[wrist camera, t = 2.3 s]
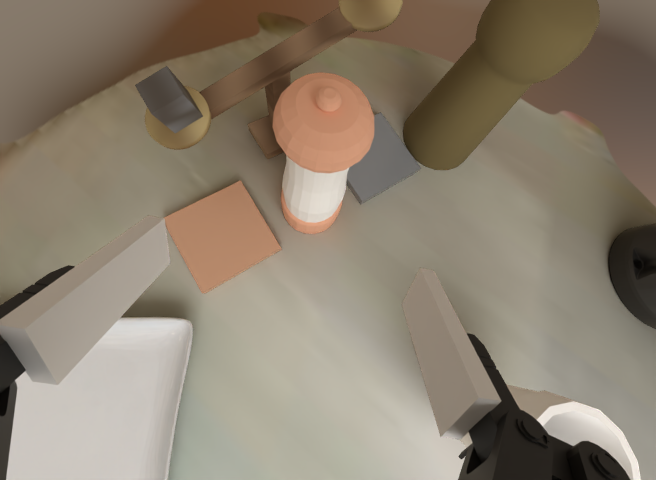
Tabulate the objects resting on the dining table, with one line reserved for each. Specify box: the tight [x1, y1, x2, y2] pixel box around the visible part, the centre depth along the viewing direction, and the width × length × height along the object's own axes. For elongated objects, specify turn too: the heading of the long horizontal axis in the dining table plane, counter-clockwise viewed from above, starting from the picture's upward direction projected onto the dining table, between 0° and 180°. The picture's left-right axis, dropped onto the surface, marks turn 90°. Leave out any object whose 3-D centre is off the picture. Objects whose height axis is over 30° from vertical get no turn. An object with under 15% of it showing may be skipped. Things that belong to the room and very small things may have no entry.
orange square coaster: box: [164, 180, 282, 293], centre depth 31 cm, size 10×10×1 cm
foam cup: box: [460, 385, 641, 480], centre depth 24 cm, size 10×9×13 cm
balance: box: [135, 0, 403, 159], centre depth 28 cm, size 27×6×15 cm, turn 122°
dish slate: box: [346, 113, 421, 204], centre depth 36 cm, size 10×10×1 cm
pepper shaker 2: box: [403, 0, 600, 170], centre depth 29 cm, size 10×10×19 cm
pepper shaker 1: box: [272, 73, 374, 234], centre depth 24 cm, size 7×7×19 cm
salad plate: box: [6, 317, 193, 480], centre depth 24 cm, size 21×21×3 cm
